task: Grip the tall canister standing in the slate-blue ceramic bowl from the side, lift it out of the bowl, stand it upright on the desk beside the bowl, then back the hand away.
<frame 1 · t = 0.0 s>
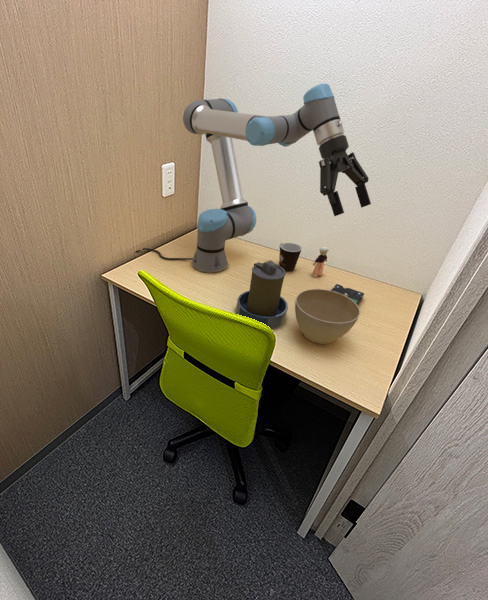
hand: (353, 210, 99), 36 cm above the table, tool tilted 35°, fingers open, 13 cm apart
disk drive: (341, 303, 123), on the table
canister: (260, 314, 116), resting on bowl
bowl: (260, 314, 117), on the table
coffee mug: (286, 267, 145), on the table
grandmother figurine: (317, 275, 139), on the table
tan rounded vessel: (317, 335, 108), on the table
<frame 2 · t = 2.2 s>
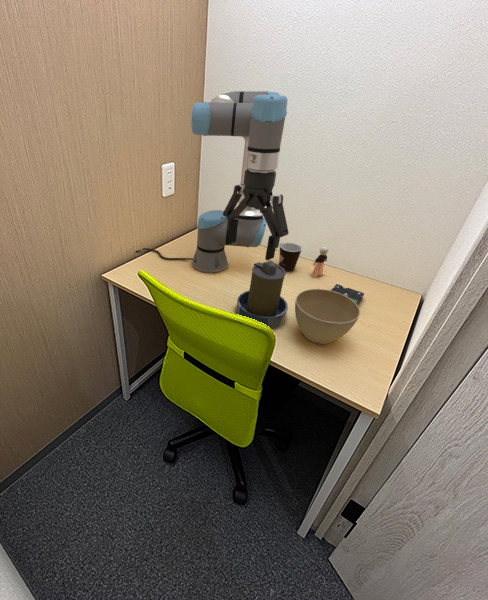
hand: (249, 250, 93), 29 cm above the table, tool pointing down, fingers open, 13 cm apart
nothing on the table moved.
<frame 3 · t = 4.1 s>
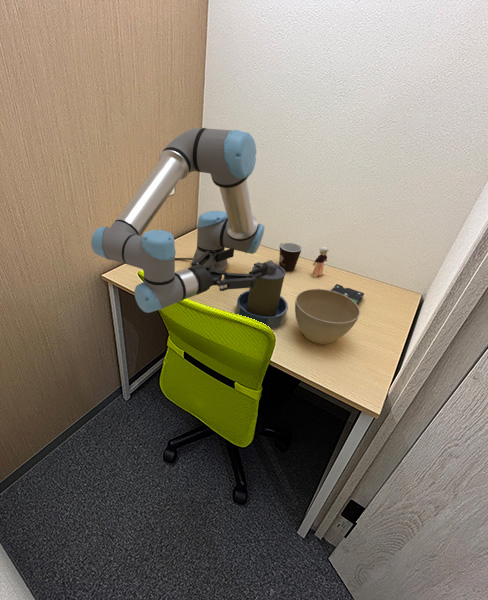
hand: (248, 260, 99), 24 cm above the table, tool horizontal, fingers open, 13 cm apart
nothing on the table moved.
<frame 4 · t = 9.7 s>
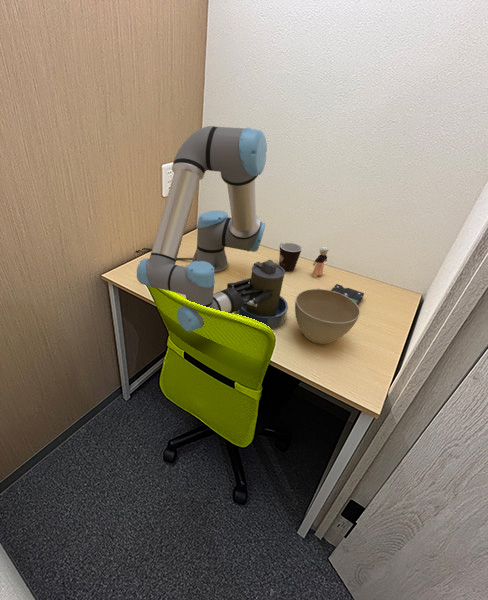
hand: (277, 280, 112), 12 cm above the table, tool horizontal, fingers closed on canister, 2 cm apart
canister: (260, 314, 116), resting on bowl, touching gripper
everything else where it was.
when the fingers open (12 cm above the table, at t = 19.3 s): canister stays where it is, on the table.
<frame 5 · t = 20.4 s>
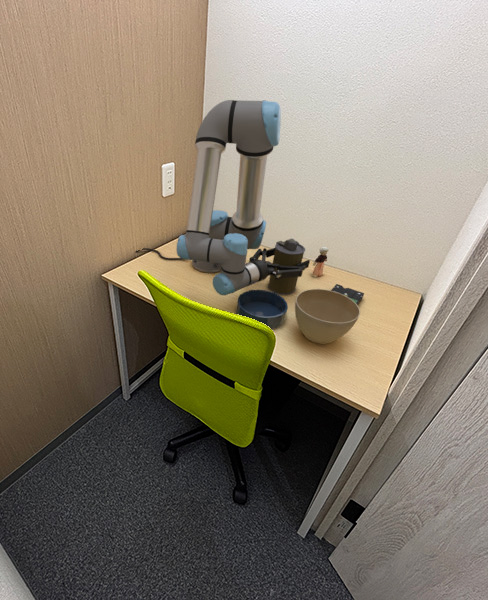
hand: (293, 256, 125), 13 cm above the table, tool horizontal, fingers open, 13 cm apart
canister: (281, 288, 131), on the table
everything else where it was.
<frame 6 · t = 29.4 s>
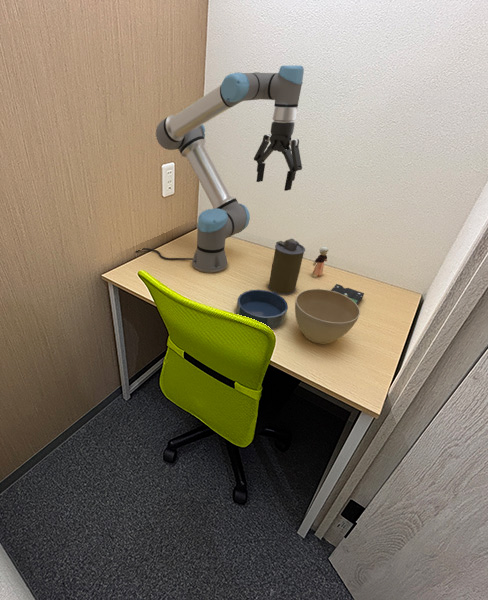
hand: (273, 185, 125), 35 cm above the table, tool pointing down, fingers open, 13 cm apart
nothing on the table moved.
at the end: canister inside the target area (0.1 cm from its centre), on the table; canister tilted 0°; canister touching table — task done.
